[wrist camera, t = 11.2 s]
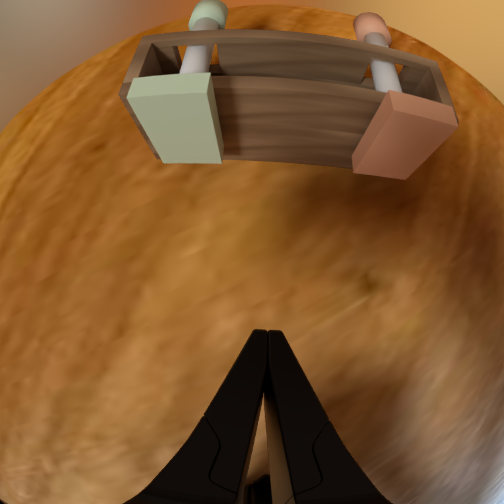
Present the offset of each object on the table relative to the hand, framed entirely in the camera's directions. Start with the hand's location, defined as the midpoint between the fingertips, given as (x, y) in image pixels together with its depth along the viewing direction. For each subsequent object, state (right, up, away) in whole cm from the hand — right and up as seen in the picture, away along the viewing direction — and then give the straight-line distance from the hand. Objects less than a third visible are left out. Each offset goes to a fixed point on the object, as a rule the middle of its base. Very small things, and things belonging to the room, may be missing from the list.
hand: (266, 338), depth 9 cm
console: (+3, +13, +16) cm, 21 cm away
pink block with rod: (+10, +15, +14) cm, 23 cm away
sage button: (-4, +16, +14) cm, 22 cm away
